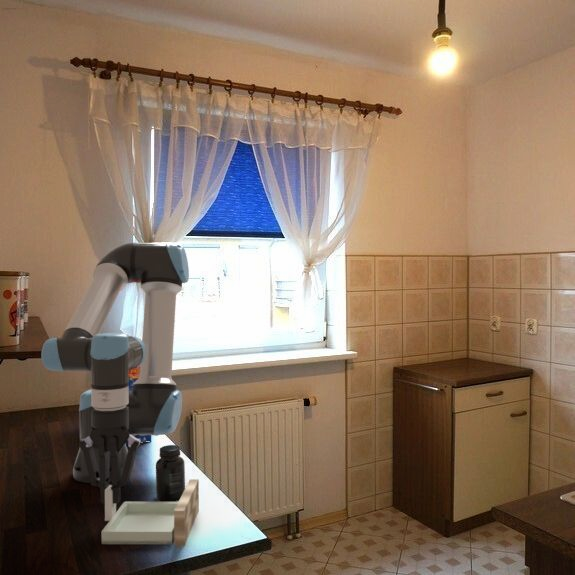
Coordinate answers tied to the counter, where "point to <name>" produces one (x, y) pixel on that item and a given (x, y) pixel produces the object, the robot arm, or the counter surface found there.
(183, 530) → the backstop wall
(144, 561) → the counter surface
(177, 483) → the supplement bottle
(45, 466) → the counter surface
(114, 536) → the sliding tray
